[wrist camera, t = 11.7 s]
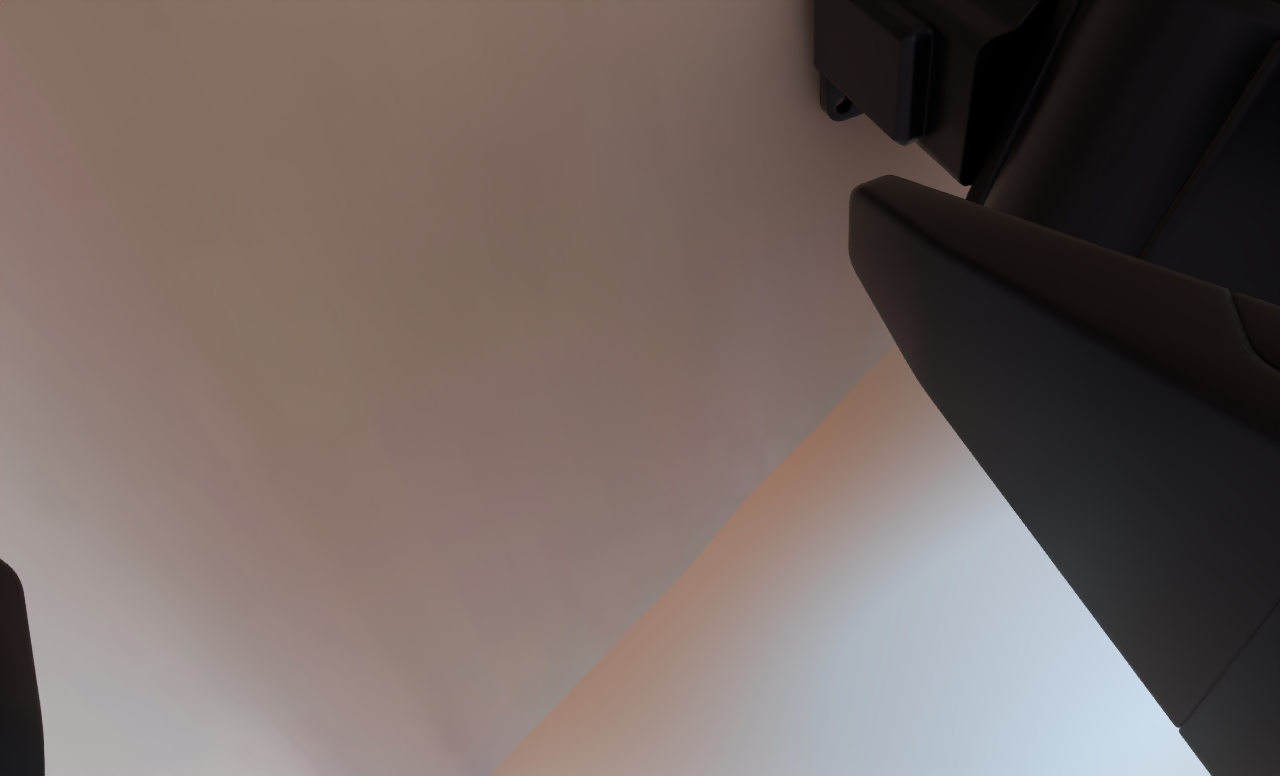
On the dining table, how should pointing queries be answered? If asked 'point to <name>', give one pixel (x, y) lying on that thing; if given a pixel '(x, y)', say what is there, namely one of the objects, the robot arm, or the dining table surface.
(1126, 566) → the robot arm
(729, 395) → the dining table surface
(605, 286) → the dining table surface
